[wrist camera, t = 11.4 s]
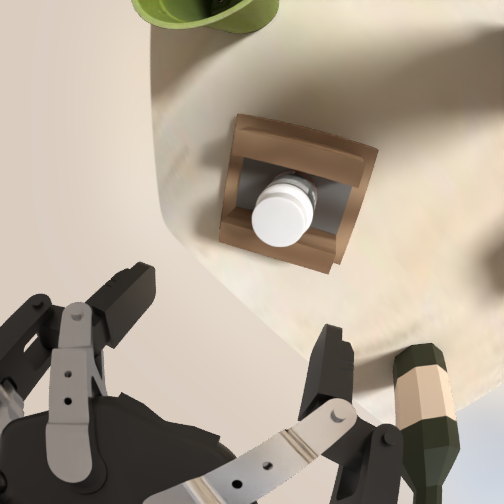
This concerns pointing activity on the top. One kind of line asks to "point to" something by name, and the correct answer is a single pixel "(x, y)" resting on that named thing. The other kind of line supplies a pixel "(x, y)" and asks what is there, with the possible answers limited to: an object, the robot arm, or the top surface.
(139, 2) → the plant pot
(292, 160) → the cradle
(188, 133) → the top surface
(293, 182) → the pill bottle
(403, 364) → the wine bottle
